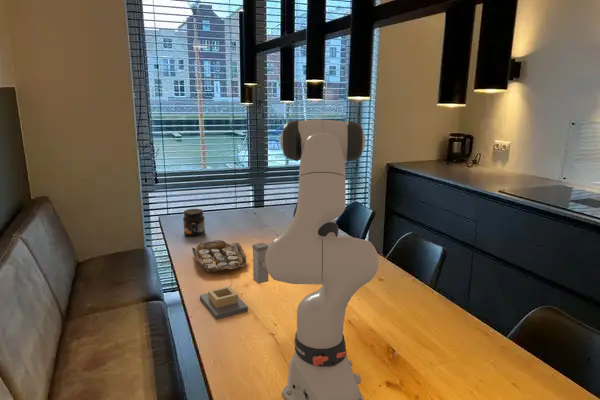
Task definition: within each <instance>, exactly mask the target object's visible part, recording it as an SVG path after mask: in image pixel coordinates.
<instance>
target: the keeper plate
mask: <svg viewBox="0 0 600 400" xmlns="http://www.w3.org/2000/svg"><path fill="white" fill-rule="evenodd" d="M199 299H200V301H201V302H202V303H203V305H204V306H205V307H206V308H207V310H208V311H209V312H210V313H211V314H212V316H213V317H214V319H216V320H219V319H222V318H227V317H231V316H234V315H238V314H242V313H245V312H248V311H249V306H248V305H247V304H246V303H245V302H244V301H243V300H242V299H241V298H240V297H239V294H238V293H237V292H236V291H235V290H234V289H233V288H232V287H231V286H229V285H227V286H224V287H219V288H214V289H210V290H208V292H207V293H203V294H200V295H199Z"/></svg>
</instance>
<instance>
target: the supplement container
mask: <svg viewBox="0 0 600 400" xmlns="http://www.w3.org/2000/svg"><path fill="white" fill-rule="evenodd" d="M182 221H183V234H184V236H186V237H188V238H190V237H191V238H193V237H194V238H195V237H201V236H203V235H204V234H205V233H206V228H205V226H206V225H205V222H206V221H205V216H204V210H203V209H201V208H200V209H199V208H189V209H186V210H184V211H183V218H182Z"/></svg>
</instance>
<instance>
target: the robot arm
mask: <svg viewBox="0 0 600 400" xmlns="http://www.w3.org/2000/svg"><path fill="white" fill-rule="evenodd" d="M279 140H280V141H279V143H280V148H281V150H282V153H283V155H284V156H285V157H286V158H287V159H288V160H291V161H295V162H300V163H299V173H298V174H299V176H298V177H299V178H298V192H297V194H298V195H297V202H296V206H295V207H294V211H293V214H292V215H293V217H292V218H293V219H292V221H291V222H290V223H289V226H288V227H287V228H286V229H285V231H283V232H282V233H281V234H279V236H278V237H276V238H275V239H273V240H272V241H271V242H268V243H265V244H266V245H268V246H269V247H268V249H267V251H266V255H265V260H264V261H261V266H262V267H266V269H267V271H268V276H270V277H271V279H272V280H274V281H277V282H281V283H287V284H291V285H319V286H320V285H321V287H320V288H319V289H318V290H315V291H313V292H311V293H309V294H308V295H306V296H305V297H304V298H302V300H301V301H299V303H298V306H297V309H296V332H295V335H294V343H293V344H294V354H293V355H292V358H291V359H290V360H289V363H288V373H287V375H288V376H287V385H285V387H283V389H282V393H281V395H282V398H284V399H285V400H365V399H364V397H363V395H362V393H361V391H360V388H359V385H360V384H361V382H362V381H361V379H362V378H361V375H360V373H354V372H353V369H352V368H353V361H352V360H350V359H349V358H348V355H347V348H346V346H347V345H346V339H345V334H344V323H345V316H346V315H345V314H346V310H347V306H348V304H349V302H350V300H351V299H352V297H353V296H354V295H355V294H356V293H357V292H358V291H359V289H361V288H362V287H363V286H365V285H367V284H368V283H370V282H371V281H372V280H373V279H374V278H375V275H376V274H377V272H378V269H379V261H380V260H379V255H378V251H377V249H376V248H375V246H374V245H373V243H372V242H371V241H370V240H367V239H361V238H357V237H354V236H353V237H352V236H339V226H338V224H337V223H336V222H335V221H334V220H336V219H338V218H340V216H342V214H343V213H344V211H345V209H346V205H347V203H346V202H347V201H346V197H347V196H346V195H347V194H346V190H347V189H346V188H347V186H346V163H347V162H352V161H353V162H354V161H356V160H359V158H361V157H362V154H363V152H364V149H365V147H366V136H365V133H364V130H363V127H362V125H361V124H360V123H359V122H355V121H353V120H347V121H344V120H343V121H342V120H334V119H323V118H320V119H306V120H305V119H304V120H298V119H296V120H290V121H287V122H286V123H285V124H284V126H283V128H282V131H281V133H280V139H279ZM299 160H300V161H299ZM345 161H346V163H345Z"/></svg>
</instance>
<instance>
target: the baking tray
mask: <svg viewBox="0 0 600 400" xmlns="http://www.w3.org/2000/svg"><path fill="white" fill-rule="evenodd" d="M191 249H192V250H191V251H192V253H193V257H194V261H195V263H196V264H197V265H198V266H199V267H202V268H203V270H205V271H206V272H207V273H218V272H223V271H231V270H234V269H241V268H242V267H245V266H247V265H248V264H247V258H248V257H247V254H246V252H245V251H244V249H243V247H242V245H241V244H240V243H239V242H234V243H233V242H232V243H231V244H229V243H227V241H224V240H219V239H218V240H217V239H216V240H215V239H212V240H206V241H204V242H200V243H198V244H197V245H196V246H194V247H191ZM214 263H215V264H214Z"/></svg>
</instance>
